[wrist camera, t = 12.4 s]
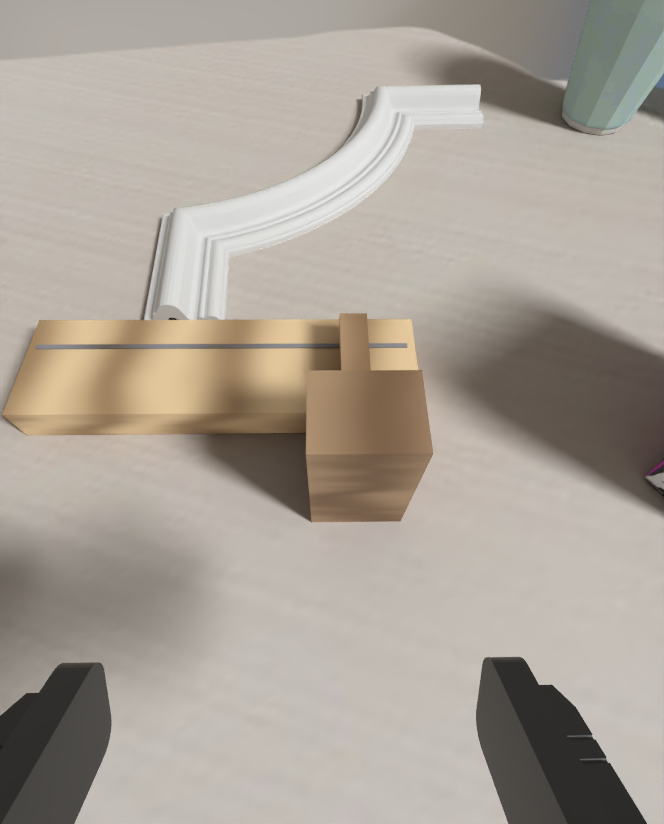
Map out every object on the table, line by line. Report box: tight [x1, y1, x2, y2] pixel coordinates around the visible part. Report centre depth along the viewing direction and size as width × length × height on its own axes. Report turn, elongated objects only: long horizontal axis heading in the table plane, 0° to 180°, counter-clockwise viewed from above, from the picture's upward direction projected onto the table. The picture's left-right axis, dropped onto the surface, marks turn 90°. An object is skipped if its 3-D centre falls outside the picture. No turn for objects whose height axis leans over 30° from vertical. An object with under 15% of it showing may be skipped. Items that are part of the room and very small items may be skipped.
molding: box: [144, 84, 483, 320], centre depth 41 cm, size 42×12×3 cm, turn 139°
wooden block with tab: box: [306, 314, 433, 522], centre depth 25 cm, size 5×11×9 cm, turn 1°
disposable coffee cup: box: [562, 0, 664, 135], centre depth 41 cm, size 11×11×15 cm
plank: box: [2, 319, 418, 435], centre depth 29 cm, size 24×7×3 cm, turn 91°
